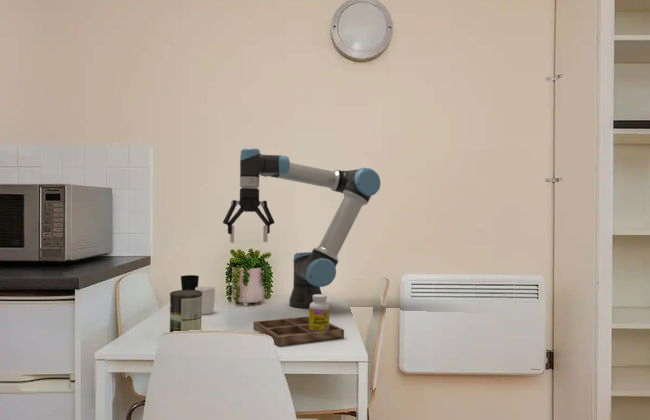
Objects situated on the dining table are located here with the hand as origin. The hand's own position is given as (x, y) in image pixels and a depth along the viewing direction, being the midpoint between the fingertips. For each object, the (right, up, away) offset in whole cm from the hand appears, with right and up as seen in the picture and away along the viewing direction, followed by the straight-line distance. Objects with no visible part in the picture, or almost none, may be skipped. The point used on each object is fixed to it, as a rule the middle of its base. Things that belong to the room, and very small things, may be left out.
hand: (248, 242), depth 193 cm
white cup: (-18, -29, +4) cm, 34 cm away
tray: (+21, -29, -27) cm, 45 cm away
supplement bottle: (+28, -29, -30) cm, 50 cm away
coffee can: (-16, -29, -31) cm, 45 cm away
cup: (-29, -29, +23) cm, 47 cm away
